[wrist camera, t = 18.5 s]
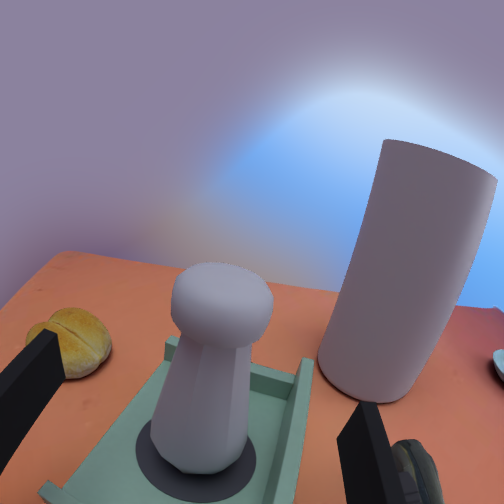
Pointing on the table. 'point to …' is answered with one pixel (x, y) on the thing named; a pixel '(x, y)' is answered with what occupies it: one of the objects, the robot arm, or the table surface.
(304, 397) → the green tray with hole
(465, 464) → the table surface
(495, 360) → the saucer
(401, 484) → the robot arm
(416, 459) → the black stapler
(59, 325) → the bread roll
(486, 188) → the cylinder vase
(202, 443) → the salt shaker
